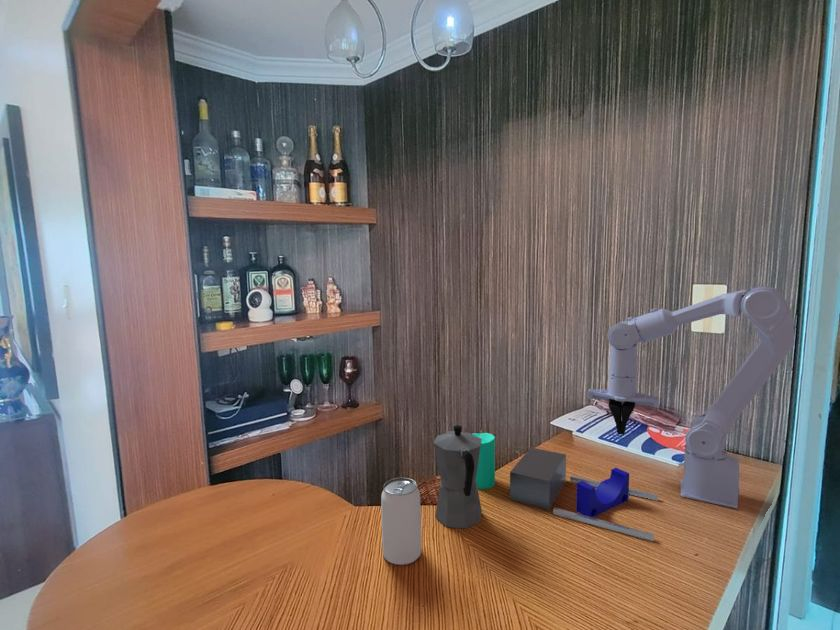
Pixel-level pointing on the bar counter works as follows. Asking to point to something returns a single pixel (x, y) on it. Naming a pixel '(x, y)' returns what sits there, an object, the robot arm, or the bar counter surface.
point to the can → (401, 521)
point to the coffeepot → (458, 478)
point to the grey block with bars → (558, 488)
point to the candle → (486, 461)
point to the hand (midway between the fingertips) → (621, 432)
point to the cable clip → (603, 494)
